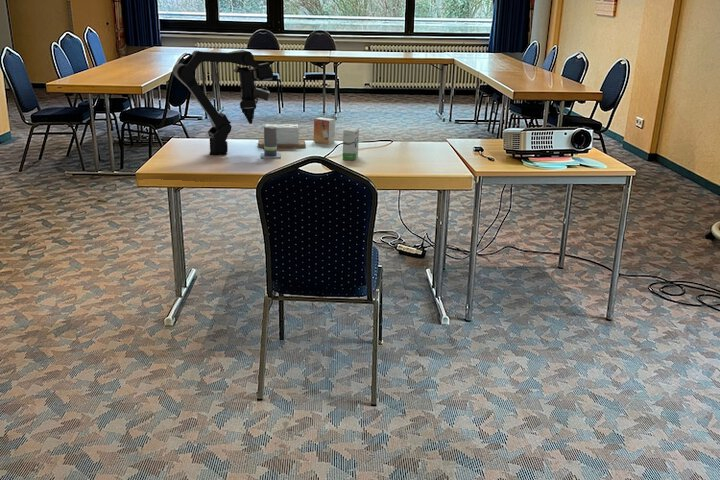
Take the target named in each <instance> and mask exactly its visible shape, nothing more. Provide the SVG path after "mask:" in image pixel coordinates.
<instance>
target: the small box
mask: <svg viewBox="0 0 720 480" xmlns="http://www.w3.org/2000/svg"><path fill="white" fill-rule="evenodd" d="M335 138H336V118H327V117H322V116H320V117H316V118H313V142H315V143H321V144H325V145H330V144H333V143H335V141H336V139H335Z"/></svg>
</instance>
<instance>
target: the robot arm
mask: <svg viewBox="0 0 720 480" xmlns="http://www.w3.org/2000/svg"><path fill="white" fill-rule="evenodd" d="M254 58H255V57H254V55H253V53H252V52H251V51H248V50H245V49H240V50H239V49H238V50H233V51H229V52H226V51H225V52H224V51H223V52H222V51H206V50H205V51H201V50H194V51H193V52H192V53H191V54H190V55H189V56H187V57H186V58H185V59H184V60H182V61H181V63H177V64H176V65H175V66H174V67H173V71H172V73H173V75H174V77H176V79H178V81H179V82H180V83H182V84H183V85H184V86H185V87H187V89H188V90H189V92H190V93H191V95H192V96H193V97H194V98H195V100H196V101H197V103H198V104H199V106H200V107H201V108H202V110H203V111H204V112H205V114H206V115H207V117H208V120H209V123H210V124H211V128H209V130H208V131H207V134H208V137H209V155H210V156H211V155H213V156H214V155H215V156H217V155H219V156H220V155H221V156H223V155H224V156H225V155H227V153H229V152H228V151H229V149H228V141H227V139H228V136H229V134H230V133H231V131H232V125H231V124H232V121H230V120H229V119H228V116H227V114H225V113H223V112H220V113H219V111H218V110H217V109H216V108H215V106H214V105H213V103H212V102H211V101H210V99H209V98H208V97H207V95H206V93H205V92H204V91H203V89H202V87H201V86H200V85H199V84H198V81H197V79H196V76H195V73H194V72H195V71H196V70H197V69H198V67H199V66H200V64H202V62H205V63H207V62H208V63H211V62H212V63H231V64H236V67H235V68H234V69H233V72H234V73H237V74H238V77H239V85H240V87H239V89H240V93H241V97H240V98H241V100H240V102H239V109H241V111H242V112H243V113H242V114H243V115H244V116H245V118H246V120H247V122H248V124H250V125H252V124H253V120H254V116H255V110H256V109H257V104H258V102H259V99H261V100H263V101H269V97H270V94H271V93H270V90H268V88H267V86H264V85H263V86H262V87H261V88H258V87H257V85H256V83H255V80H257V82H262V81H263V82H265V81H272V80H273V79H274V71H273V69H272V67H271V63H270V62H264V63H258V62H257V61H256V60H255V59H254ZM240 66H243V67H240ZM249 67H250V68H249Z"/></svg>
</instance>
